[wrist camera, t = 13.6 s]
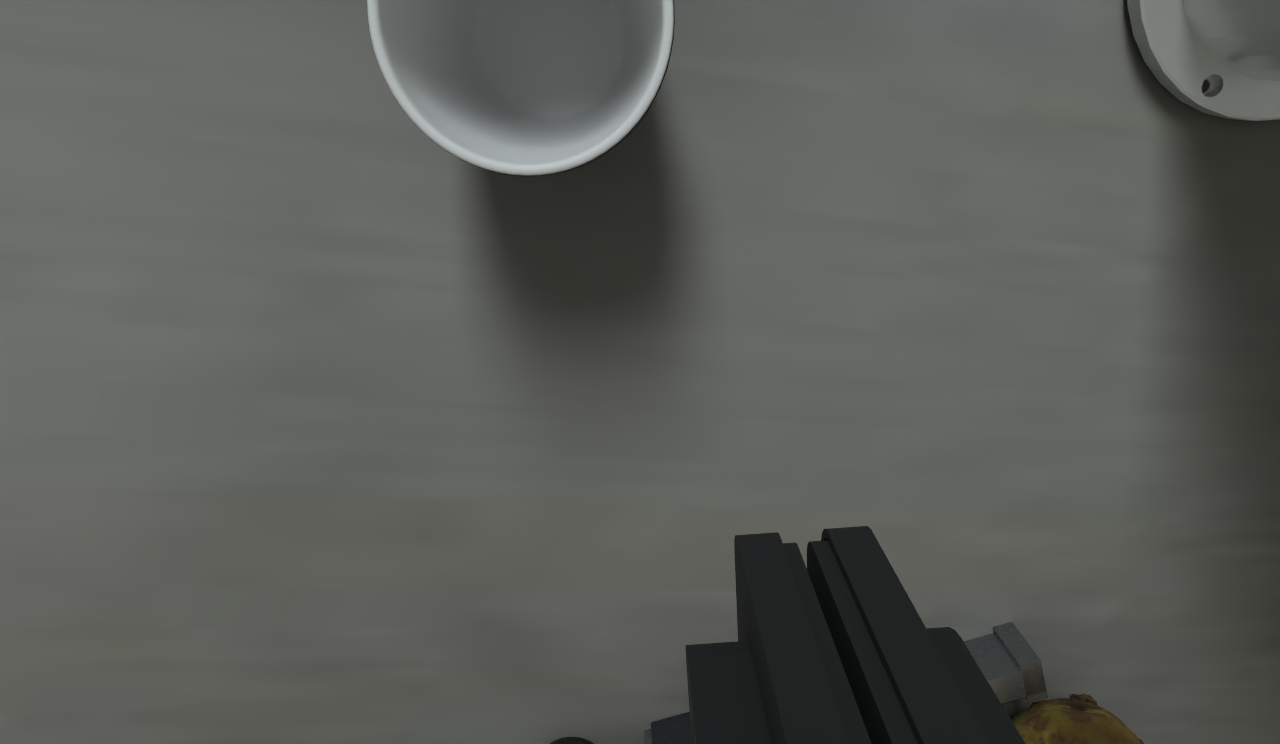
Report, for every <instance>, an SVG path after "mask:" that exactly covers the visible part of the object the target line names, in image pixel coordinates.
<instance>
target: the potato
mask: <svg viewBox="0 0 1280 744" xmlns="http://www.w3.org/2000/svg"><path fill="white" fill-rule="evenodd" d="M1069 697H1070V699H1056V700H1041V701H1038V702H1033V703H1032V704H1031V706H1030V707H1029V708H1027V709H1026V710H1024V711H1022V712H1021V713H1019V714H1017V715H1016V716H1015V717H1013V718H1012V719H1011V720H1012V722H1013V724H1014V725H1015V727H1016V729H1017V730H1018V732H1019V733H1020V735H1021V737H1022V738H1023V740H1024V742H1025V743H1026V744H1144V743H1143V742H1142V740H1141V739H1139V738H1138V737H1137V736H1136V735H1135V734H1134V733H1133V732H1132V731H1131V730H1130V729H1129V728H1128V727H1127V726H1126V725H1125V724H1124V723H1123V722H1122V721H1121V720H1120V719H1118V718H1117V717H1116V716H1115V715H1114V714H1112V713H1111V712H1109V711H1107V710H1105V709H1103V708H1101V707H1099V706H1097V702H1096V701H1095V700H1094V699H1093V698H1092V697H1091V696H1090V695H1086V694H1081V695H1077V694H1071V695H1070V696H1069Z"/></svg>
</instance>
